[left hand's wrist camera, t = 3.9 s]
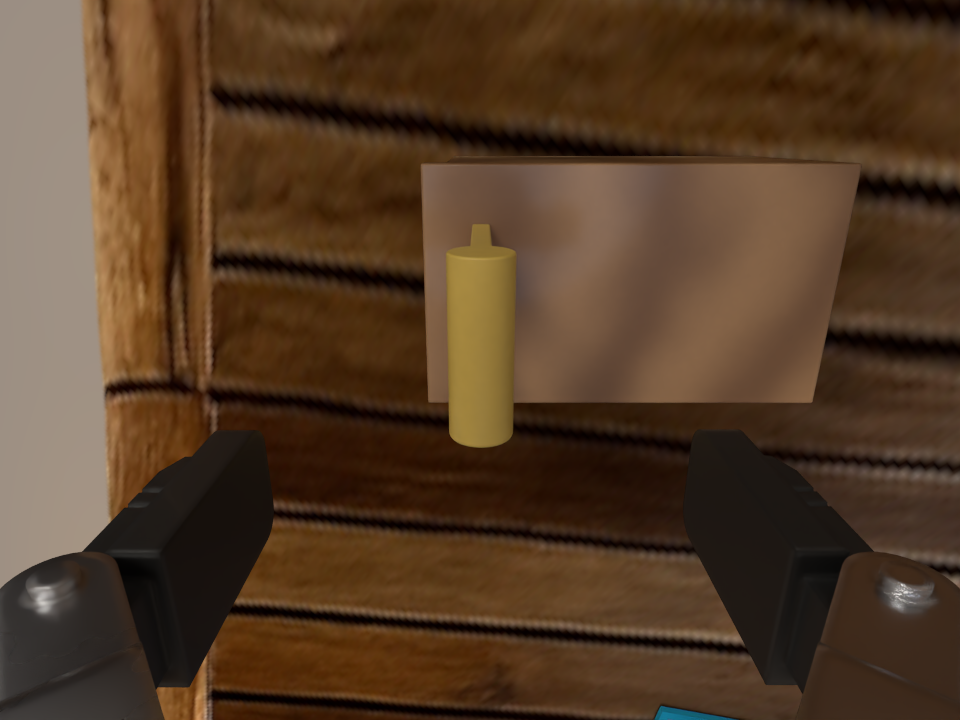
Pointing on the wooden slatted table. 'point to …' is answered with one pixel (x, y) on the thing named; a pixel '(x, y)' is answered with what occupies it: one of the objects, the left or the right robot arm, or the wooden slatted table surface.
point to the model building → (684, 715)
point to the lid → (627, 283)
